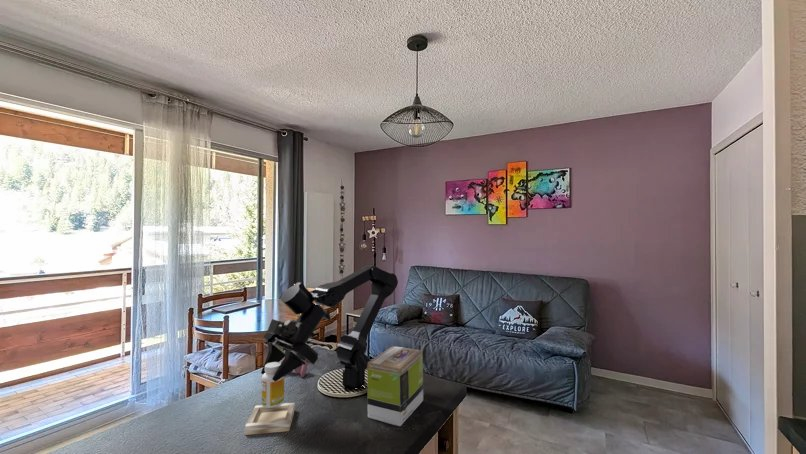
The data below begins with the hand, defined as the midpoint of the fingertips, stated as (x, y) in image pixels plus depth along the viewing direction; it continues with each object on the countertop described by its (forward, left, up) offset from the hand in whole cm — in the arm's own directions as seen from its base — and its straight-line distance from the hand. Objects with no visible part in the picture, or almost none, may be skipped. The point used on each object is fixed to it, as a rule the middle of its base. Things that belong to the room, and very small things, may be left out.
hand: (267, 377), depth 84 cm
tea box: (-33, -2, -12) cm, 35 cm away
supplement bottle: (-1, -1, -7) cm, 7 cm away
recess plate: (-1, -1, -11) cm, 11 cm away
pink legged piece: (-2, -31, -12) cm, 33 cm away
